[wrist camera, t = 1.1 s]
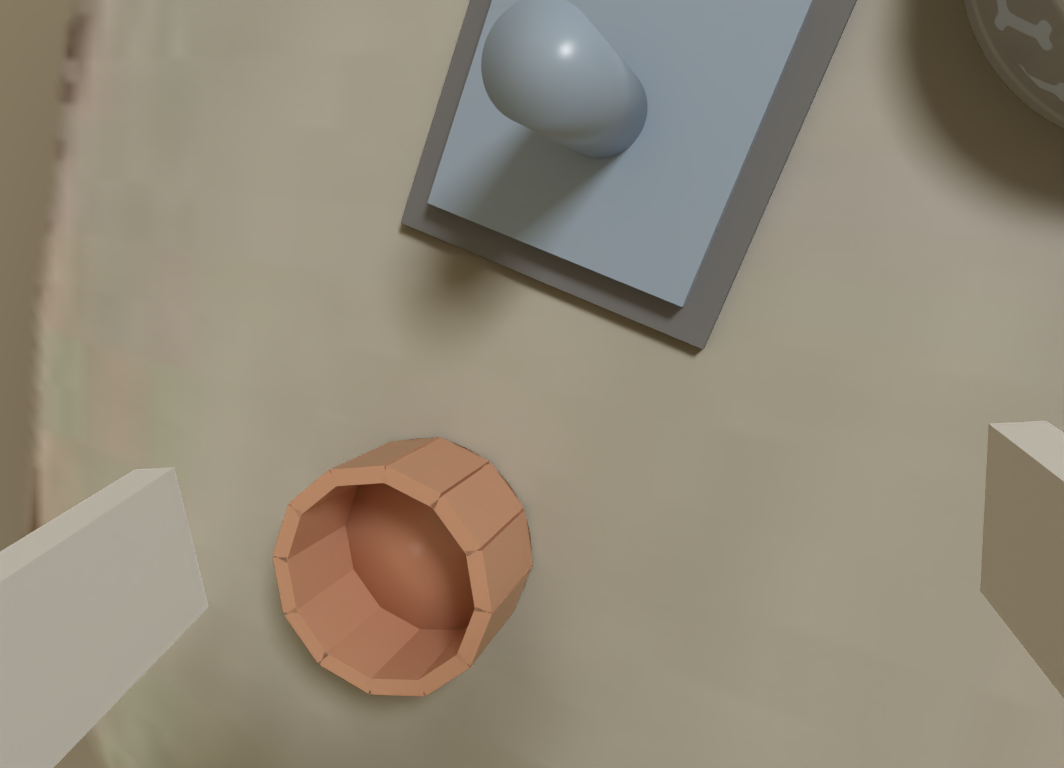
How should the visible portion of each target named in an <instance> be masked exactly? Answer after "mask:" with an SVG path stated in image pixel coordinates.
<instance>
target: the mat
mask: <svg viewBox="0 0 1064 768" xmlns="http://www.w3.org/2000/svg"><path fill="white" fill-rule="evenodd" d="M856 1H857V0H812V8H811V10H810V13H809V15H808V17H807V20H806V22H805V25H804V27H803V29H802V32H801V34H800V36H799V39H798V41H797V43H796V46H795V48H794V50H793V53H792V55H791V57H790V60H789V62H788V65H787V67H786V69H785V72H784V74H783V76H782V79H781V81H780V83H779V86H778V88H777V90H776V93H775V95H774V98H773V100H772V102H771V105H770V107H769V109H768V112H767V114H766V116H765V119H764V121H763V123H762V126H761V128H760V130H759V133H758V135H757V138H756V140H755V142H754V145H753V147H752V149H751V152H750V154H749V156H748V159H747V161H746V163H745V166H744V168H743V171H742V173H741V175H740V178H739V180H738V182H737V185H736V187H735V189H734V192H733V194H732V196H731V199H730V201H729V203H728V206H727V208H726V211H725V213H724V215H723V218H722V220H721V222H720V225H719V227H718V229H717V232H716V234H715V236H714V239H713V241H712V243H711V246H710V248H709V251H708V253H707V255H706V258H705V260H704V262H703V265H702V267H701V269H700V272H699V274H698V276H697V279H696V281H695V284H694V286H693V288H692V291H691V293H690V295H689V298H688V300H687V302H686V305H685V306H684V307H681V306H678V305H676V304H673V303H671V302H668V301H666V300H663V299H661V298H659V297H656V296H654V295H651V294H649V293H646V292H644V291H641V290H639V289H637V288H634V287H632V286H629V285H627V284H624V283H622V282H619V281H617V280H614V279H612V278H610V277H607V276H605V275H602V274H600V273H597V272H595V271H592V270H590V269H588V268H585V267H583V266H580V265H578V264H575V263H573V262H570V261H568V260H566V259H563V258H561V257H558V256H556V255H553V254H551V253H548V252H546V251H544V250H541V249H539V248H536V247H534V246H531V245H529V244H526V243H524V242H522V241H519V240H517V239H514V238H512V237H509V236H507V235H504V234H502V233H499V232H497V231H495V230H492V229H490V228H487V227H485V226H482V225H480V224H477V223H475V222H473V221H470V220H468V219H465V218H463V217H460V216H458V215H455V214H453V213H451V212H448V211H446V210H443V209H441V208H438V207H436V206H433V205H431V204H429V203H427V202H428V199H429V196H430V193H431V190H432V186H433V183H434V180H435V177H436V174H437V171H438V168H439V164H440V161H441V158H442V155H443V152H444V149H445V146H446V143H447V139H448V136H449V133H450V130H451V127H452V124H453V121H454V117H455V114H456V111H457V108H458V105H459V102H460V99H461V96H462V92H463V89H464V86H465V83H466V80H467V77H468V74H469V70H470V67H471V64H472V61H473V58H474V55H475V52H476V49H477V45H478V42H479V39H480V36H481V33H482V30H483V27H484V23H485V20H486V17H487V14H488V11H489V8H490V5H491V2H492V0H470V3H469V6H468V9H467V13H466V16H465V19H464V22H463V26H462V29H461V32H460V35H459V38H458V42H457V45H456V48H455V51H454V54H453V58H452V61H451V64H450V67H449V70H448V74H447V77H446V80H445V83H444V86H443V90H442V93H441V96H440V99H439V102H438V106H437V109H436V112H435V115H434V118H433V122H432V125H431V128H430V131H429V134H428V138H427V141H426V144H425V147H424V150H423V154H422V157H421V160H420V163H419V166H418V170H417V173H416V176H415V179H414V182H413V186H412V189H411V192H410V195H409V199H408V202H407V205H406V208H405V211H404V215H403V218H402V221H401V223H402V224H405V225H407V226H410V227H412V228H414V229H417V230H419V231H422V232H424V233H426V234H429V235H431V236H433V237H436V238H438V239H441V240H443V241H445V242H448V243H450V244H453V245H455V246H457V247H460V248H462V249H464V250H467V251H469V252H472V253H474V254H476V255H479V256H481V257H484V258H486V259H488V260H491V261H493V262H495V263H498V264H500V265H503V266H505V267H507V268H510V269H512V270H515V271H517V272H519V273H522V274H524V275H526V276H529V277H531V278H534V279H536V280H538V281H541V282H543V283H546V284H548V285H550V286H553V287H555V288H557V289H560V290H562V291H565V292H567V293H569V294H572V295H574V296H577V297H579V298H581V299H584V300H586V301H588V302H591V303H593V304H596V305H598V306H600V307H603V308H605V309H608V310H610V311H612V312H615V313H617V314H619V315H622V316H624V317H627V318H629V319H631V320H634V321H636V322H639V323H641V324H643V325H646V326H648V327H650V328H653V329H655V330H658V331H660V332H662V333H665V334H667V335H670V336H672V337H674V338H677V339H679V340H681V341H684V342H686V343H689V344H691V345H693V346H696V347H698V348H701V349H704V348H705V345H706V343H707V341H708V339H709V336H710V334H711V332H712V329H713V327H714V325H715V323H716V320H717V318H718V316H719V314H720V311H721V309H722V307H723V304H724V302H725V300H726V298H727V295H728V293H729V291H730V288H731V286H732V284H733V282H734V279H735V277H736V275H737V272H738V270H739V268H740V266H741V263H742V261H743V259H744V257H745V254H746V252H747V250H748V247H749V245H750V243H751V241H752V238H753V236H754V234H755V231H756V229H757V227H758V225H759V222H760V220H761V218H762V215H763V213H764V211H765V209H766V206H767V204H768V202H769V199H770V197H771V195H772V193H773V190H774V188H775V186H776V184H777V181H778V179H779V177H780V174H781V172H782V170H783V168H784V165H785V163H786V161H787V158H788V156H789V154H790V152H791V149H792V147H793V145H794V142H795V140H796V138H797V136H798V133H799V131H800V129H801V127H802V124H803V122H804V120H805V117H806V115H807V113H808V111H809V108H810V106H811V104H812V101H813V99H814V97H815V95H816V92H817V90H818V88H819V85H820V83H821V81H822V79H823V76H824V74H825V72H826V70H827V67H828V65H829V63H830V60H831V58H832V56H833V54H834V51H835V49H836V47H837V44H838V42H839V40H840V38H841V35H842V33H843V31H844V28H845V26H846V24H847V22H848V19H849V17H850V15H851V12H852V10H853V8H854V6H855V3H856Z"/></svg>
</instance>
